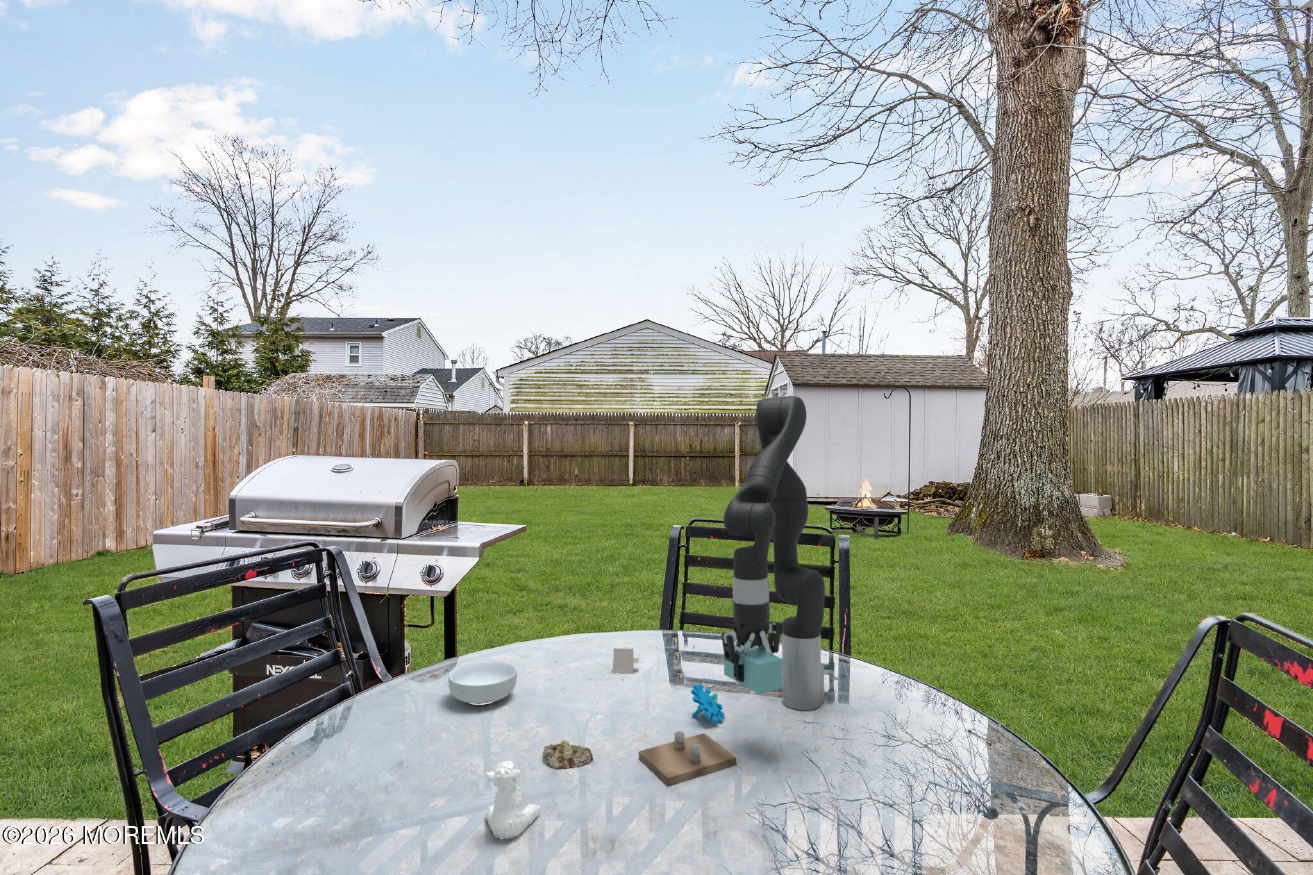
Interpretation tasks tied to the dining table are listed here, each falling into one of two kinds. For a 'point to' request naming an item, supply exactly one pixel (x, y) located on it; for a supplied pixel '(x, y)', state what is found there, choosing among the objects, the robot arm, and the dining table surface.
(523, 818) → the white creature statuette
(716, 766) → the base plate
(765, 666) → the teal rectangular block
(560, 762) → the mineral rock
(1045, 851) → the dining table surface
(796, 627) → the robot arm
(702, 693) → the blue lumpy branched piece
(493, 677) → the cereal bowl
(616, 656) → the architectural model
